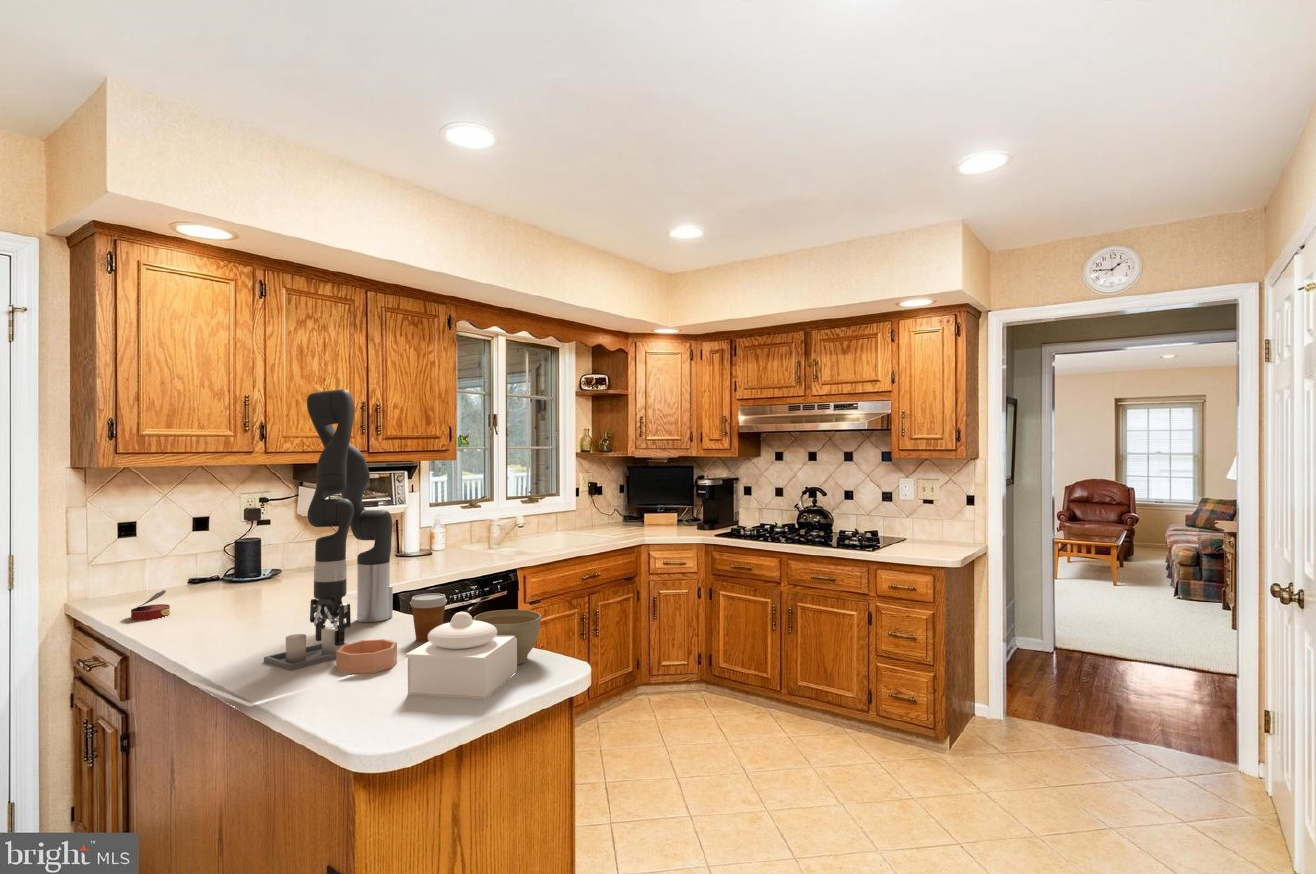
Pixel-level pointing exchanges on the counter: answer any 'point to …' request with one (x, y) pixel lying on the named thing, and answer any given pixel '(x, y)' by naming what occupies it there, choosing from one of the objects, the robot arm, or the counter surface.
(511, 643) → the white lidded box
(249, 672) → the counter surface
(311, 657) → the parts tray
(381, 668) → the terracotta bowl
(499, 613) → the planter bowl
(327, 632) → the white cylinder
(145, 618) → the canned food
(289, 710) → the counter surface
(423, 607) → the disposable coffee cup
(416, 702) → the counter surface
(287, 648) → the grey cylinder
